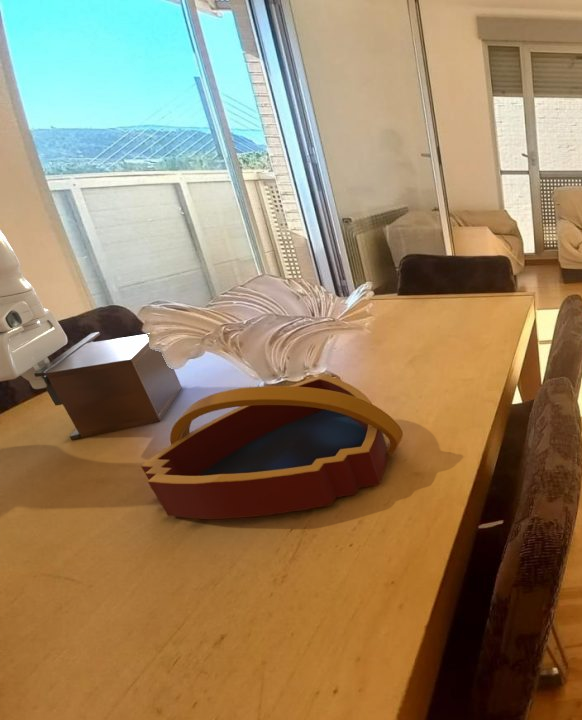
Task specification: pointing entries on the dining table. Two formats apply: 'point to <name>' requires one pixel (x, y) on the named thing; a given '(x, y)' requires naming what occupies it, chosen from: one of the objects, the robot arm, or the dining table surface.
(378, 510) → the dining table surface
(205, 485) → the decorative basket
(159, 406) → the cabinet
